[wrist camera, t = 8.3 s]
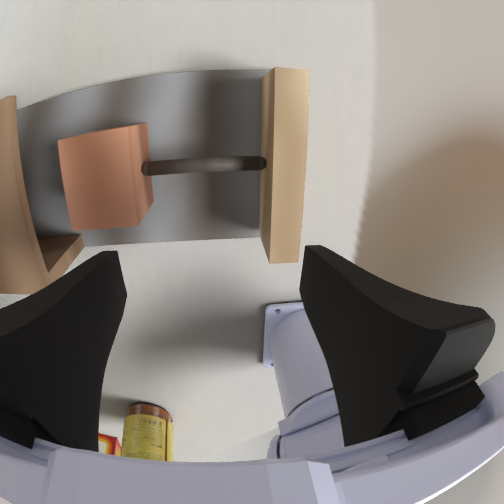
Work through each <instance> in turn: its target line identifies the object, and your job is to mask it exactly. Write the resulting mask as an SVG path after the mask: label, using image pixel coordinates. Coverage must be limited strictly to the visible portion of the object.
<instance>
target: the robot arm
mask: <svg viewBox="0 0 504 504" xmlns="http://www.w3.org/2000/svg"><path fill="white" fill-rule="evenodd" d="M299 290H300V294H301V298H302V302H297V303H285V304H272V305H268V306H267V307H266V309H265V326H264V346H263V366H264V367H266V368H270V367H274V370H275V374H276V379H277V383H278V388H279V392H280V397H281V401H282V406H283V410H284V414H285V419H284V420H281V421H279V422H278V424H279V429H280V434H279V435H276V436H275V437H273V439H272V440H271V443H270V446H269V449H268V453H267V459H264V460H252V461H238V462H215V463H214V462H211V463H210V462H209V463H208V462H206V463H201V462H170V461H157V460H146V459H137V458H129V457H122V456H116V455H110V454H105V453H99V443H98V429H99V409H100V400H101V391H102V384H103V378H104V372H105V368H106V364H107V360H108V357H109V354H110V351H111V348H112V345H113V342H114V339H115V336H116V333H117V331H118V328H119V325H120V322H121V319H122V316H123V312H124V308H125V303H126V298H127V292H126V288H125V284H124V280H123V275H122V271H121V266H120V262H119V257H118V252H117V251H103V252H100V253H98V254H96V255H95V256H93V257H91V258H90V259H88V260H86V261H85V262H83V263H82V264H80V265H79V266H77V267H76V268H74V269H73V270H71V271H70V272H68V273H67V274H65V275H64V276H62V277H60V278H59V279H57V280H56V281H54V282H53V283H51V284H50V285H48V286H46V287H45V288H43V289H41V290H39V291H37V292H36V293H34V294H32V295H30V296H28V297H26V298H24V299H22V300H20V301H17V302H15V303H13V304H11V305H9V306H6V307H4V308H1V309H0V497H2V498H4V499H5V500H7V501H9V502H11V503H12V504H423V503H425V502H427V501H428V500H430V499H432V498H434V497H436V496H437V495H439V494H440V493H442V492H444V491H446V490H447V489H449V488H451V487H452V486H454V485H455V484H457V483H458V482H460V481H461V480H463V479H464V478H466V477H467V476H469V475H470V474H471V473H473V472H474V471H476V470H477V469H478V468H480V467H481V466H482V465H483V464H485V463H486V462H488V461H489V460H490V459H491V458H493V457H494V456H495V455H496V454H498V453H499V452H500V451H501V450H502V449H503V448H504V372H500V373H498V374H496V375H495V376H493V377H491V378H490V379H488V380H486V381H485V382H484V383H482V385H480V386H478V385H477V383H476V382H475V380H476V379H477V378H478V373H477V372H476V370H475V369H474V368H475V366H476V365H477V363H478V362H479V360H480V359H481V358H482V356H483V354H484V353H485V351H486V350H487V348H488V347H489V345H490V343H491V341H492V339H493V336H494V333H495V322H494V320H493V319H492V318H491V317H490V316H489V315H488V314H487V312H486V311H485V310H483V309H482V308H478V307H471V306H466V305H459V304H454V303H449V302H445V301H441V300H437V299H433V298H430V297H426V296H423V295H420V294H417V293H414V292H411V291H409V290H406V289H403V288H401V287H399V286H396V285H394V284H392V283H389V282H387V281H385V280H383V279H381V278H379V277H377V276H375V275H373V274H371V273H369V272H368V271H365V270H364V269H362V268H360V267H359V266H357V265H355V264H353V263H352V262H350V261H348V260H347V259H345V258H343V257H342V256H340V255H338V254H337V253H335V252H333V251H331V250H329V249H328V248H326V247H323V246H321V245H306V246H305V251H304V259H303V267H302V274H301V281H300V289H299ZM276 309H279V310H278V311H275V310H276Z"/></svg>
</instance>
